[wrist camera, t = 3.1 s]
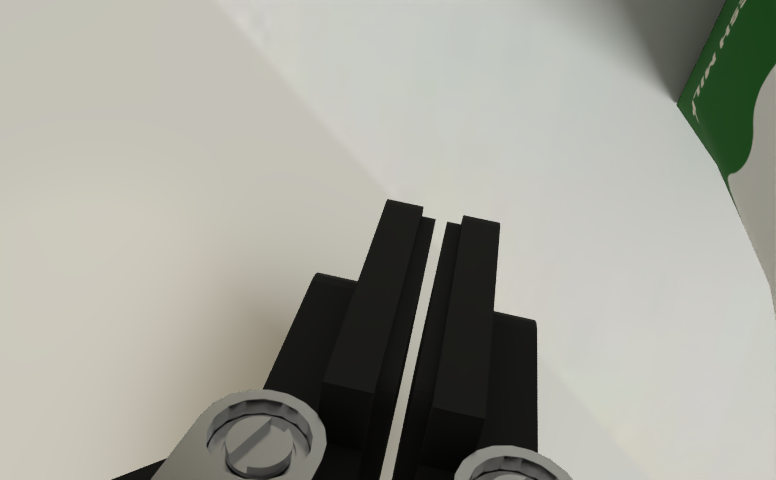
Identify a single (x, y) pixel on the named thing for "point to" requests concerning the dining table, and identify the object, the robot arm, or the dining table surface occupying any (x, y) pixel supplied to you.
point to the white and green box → (741, 116)
